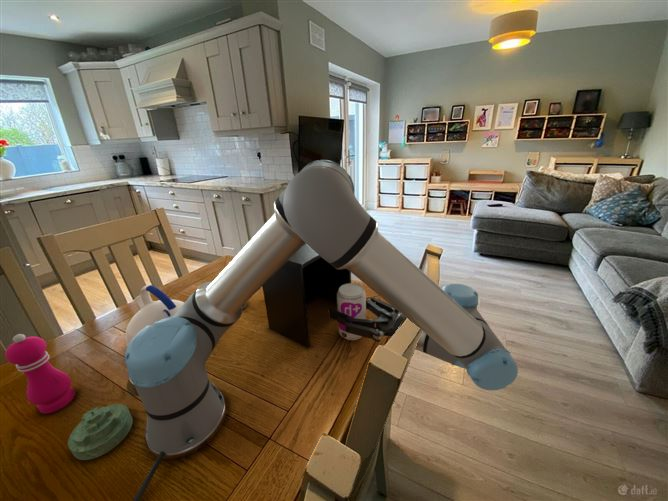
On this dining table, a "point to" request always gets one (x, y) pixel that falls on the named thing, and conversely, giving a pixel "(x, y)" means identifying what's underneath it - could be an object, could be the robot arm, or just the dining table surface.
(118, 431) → the decorative artifact
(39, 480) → the dining table surface
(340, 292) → the supplement can
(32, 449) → the dining table surface
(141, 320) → the kettle
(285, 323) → the box
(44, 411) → the pepper mill
